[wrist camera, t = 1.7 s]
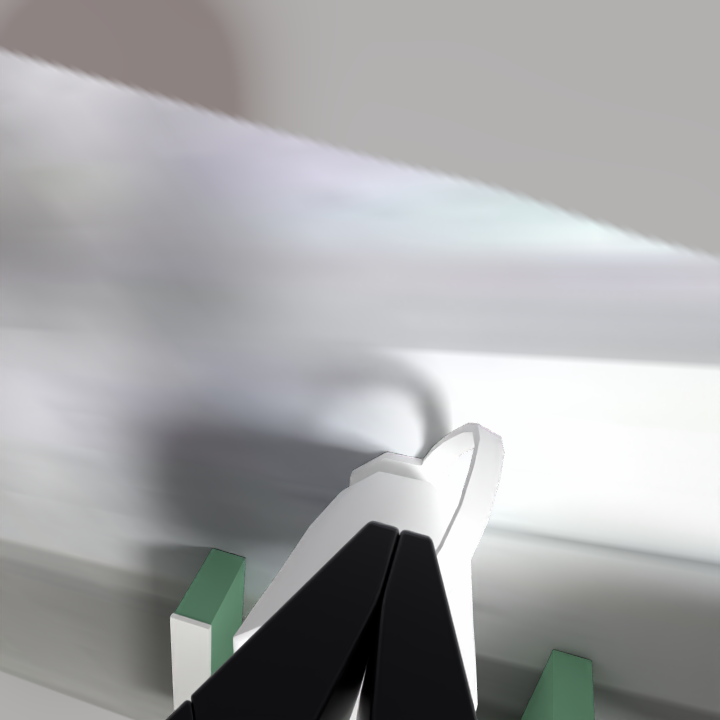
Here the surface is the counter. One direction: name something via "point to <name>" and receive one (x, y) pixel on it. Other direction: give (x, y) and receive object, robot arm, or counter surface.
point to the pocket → (224, 617)
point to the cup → (404, 525)
